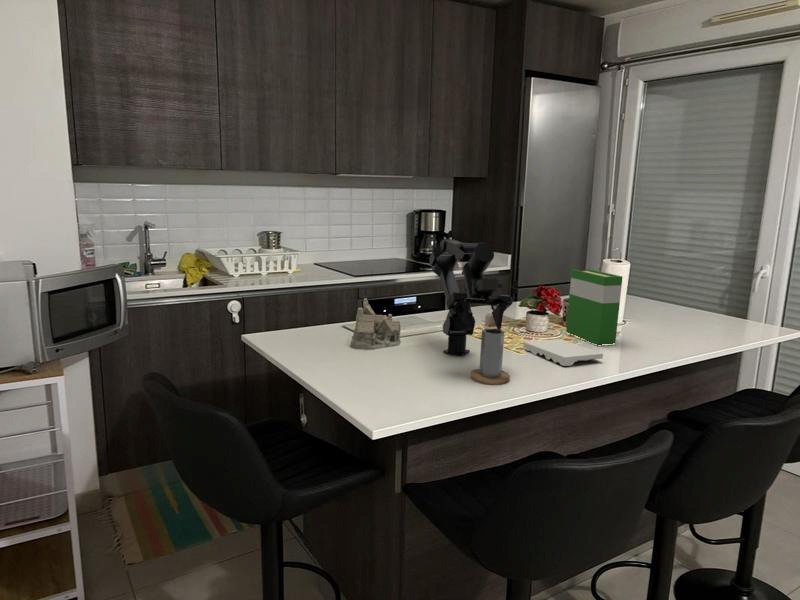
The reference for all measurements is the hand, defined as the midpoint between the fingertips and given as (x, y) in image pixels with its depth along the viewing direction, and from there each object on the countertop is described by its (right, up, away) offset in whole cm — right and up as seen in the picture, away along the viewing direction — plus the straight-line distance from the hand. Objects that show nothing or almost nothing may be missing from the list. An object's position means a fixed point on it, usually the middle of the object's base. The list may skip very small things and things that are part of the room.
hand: (485, 328), depth 165 cm
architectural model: (+9, -5, +48) cm, 49 cm away
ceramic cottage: (-32, -7, +31) cm, 45 cm away
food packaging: (+28, -11, +24) cm, 38 cm away
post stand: (+1, -14, 0) cm, 14 cm away
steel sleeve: (+1, -13, -1) cm, 13 cm away
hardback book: (+44, -6, +46) cm, 64 cm away
